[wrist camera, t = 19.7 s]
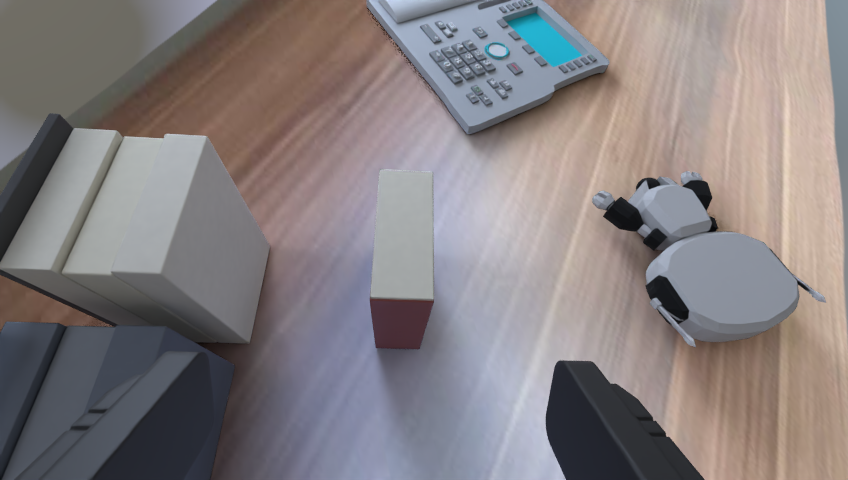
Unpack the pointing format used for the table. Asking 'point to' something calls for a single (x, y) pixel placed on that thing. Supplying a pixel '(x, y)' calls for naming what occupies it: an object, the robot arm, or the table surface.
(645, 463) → the robot arm
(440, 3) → the office telephone
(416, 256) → the cream book
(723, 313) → the robot toy
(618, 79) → the table surface
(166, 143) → the white books
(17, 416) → the grey books
